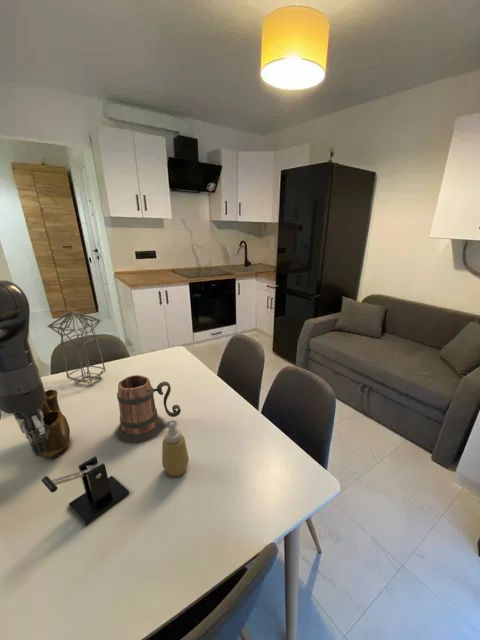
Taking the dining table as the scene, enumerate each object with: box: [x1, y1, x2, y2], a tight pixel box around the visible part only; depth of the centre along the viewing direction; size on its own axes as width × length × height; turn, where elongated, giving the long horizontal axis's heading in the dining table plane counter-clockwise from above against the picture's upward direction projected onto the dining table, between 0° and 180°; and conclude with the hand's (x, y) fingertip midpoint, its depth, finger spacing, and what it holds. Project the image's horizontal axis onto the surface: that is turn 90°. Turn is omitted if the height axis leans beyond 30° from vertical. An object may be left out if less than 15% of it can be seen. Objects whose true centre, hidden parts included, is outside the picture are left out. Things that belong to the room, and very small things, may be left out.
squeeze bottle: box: [161, 421, 190, 477], centre depth 88 cm, size 8×8×18 cm
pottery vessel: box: [38, 389, 71, 458], centre depth 94 cm, size 25×11×20 cm, turn 37°
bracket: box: [68, 456, 130, 526], centre depth 78 cm, size 12×9×13 cm
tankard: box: [115, 374, 182, 444], centre depth 107 cm, size 24×17×20 cm
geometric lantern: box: [47, 310, 107, 387], centre depth 132 cm, size 16×16×35 cm
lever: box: [41, 462, 100, 493], centre depth 72 cm, size 12×5×2 cm, turn 146°
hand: (40, 451), depth 64 cm, fingers closed
